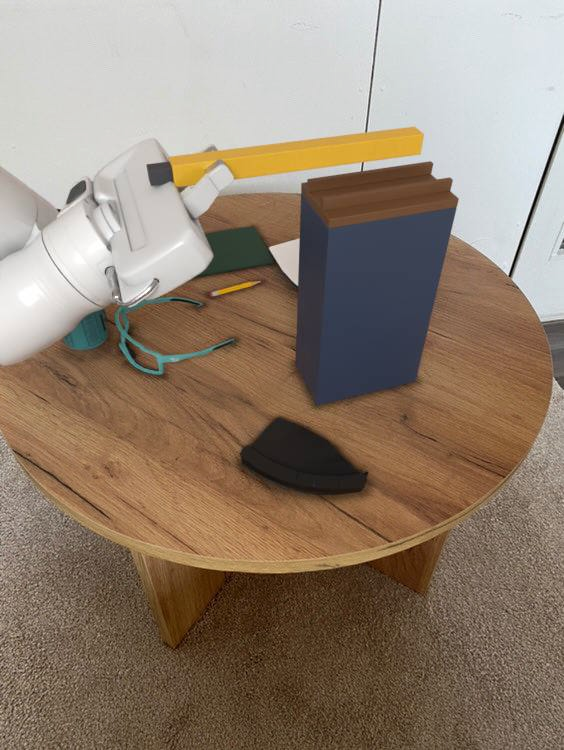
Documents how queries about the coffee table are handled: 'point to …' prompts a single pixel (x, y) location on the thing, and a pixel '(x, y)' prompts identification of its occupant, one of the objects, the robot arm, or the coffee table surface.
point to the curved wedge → (300, 461)
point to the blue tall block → (369, 276)
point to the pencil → (233, 288)
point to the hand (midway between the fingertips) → (224, 160)
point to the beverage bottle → (88, 331)
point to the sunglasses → (160, 358)
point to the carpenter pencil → (290, 156)
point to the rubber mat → (236, 250)
